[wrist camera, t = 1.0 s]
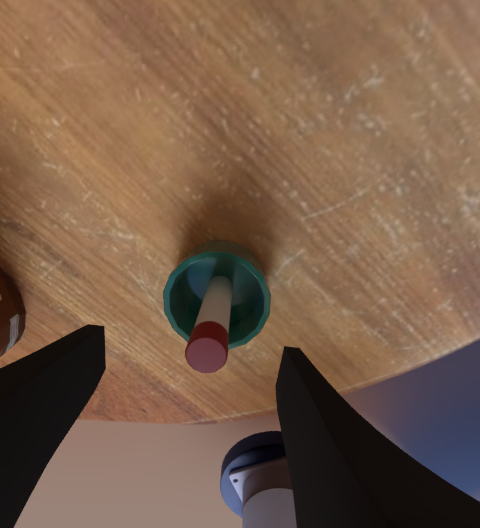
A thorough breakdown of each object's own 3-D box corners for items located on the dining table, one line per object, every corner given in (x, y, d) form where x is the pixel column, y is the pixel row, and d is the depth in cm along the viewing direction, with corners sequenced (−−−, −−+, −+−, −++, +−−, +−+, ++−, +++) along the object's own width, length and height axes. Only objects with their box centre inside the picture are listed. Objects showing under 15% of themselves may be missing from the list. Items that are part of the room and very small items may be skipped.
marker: (237, 293, 21) (233, 366, 12) (213, 302, 21) (195, 378, 13) (227, 271, 20) (217, 331, 12) (203, 279, 20) (177, 344, 12)
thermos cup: (278, 308, 21) (284, 331, 18) (197, 335, 22) (189, 362, 19) (247, 226, 20) (247, 235, 16) (161, 259, 20) (145, 274, 17)
